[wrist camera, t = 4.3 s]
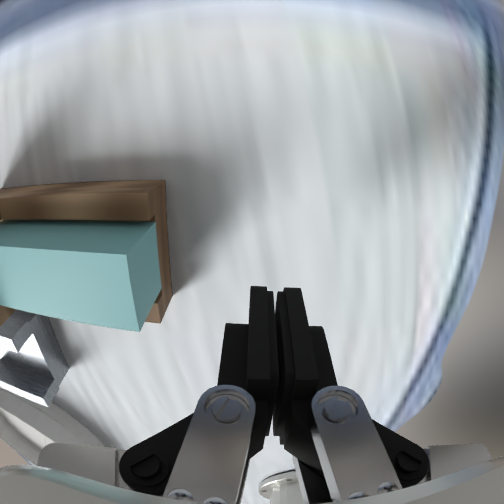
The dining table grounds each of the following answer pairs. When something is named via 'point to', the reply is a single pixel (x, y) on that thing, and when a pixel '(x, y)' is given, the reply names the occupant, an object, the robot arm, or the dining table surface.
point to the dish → (39, 426)
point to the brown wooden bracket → (97, 216)
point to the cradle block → (30, 357)
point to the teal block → (81, 270)
